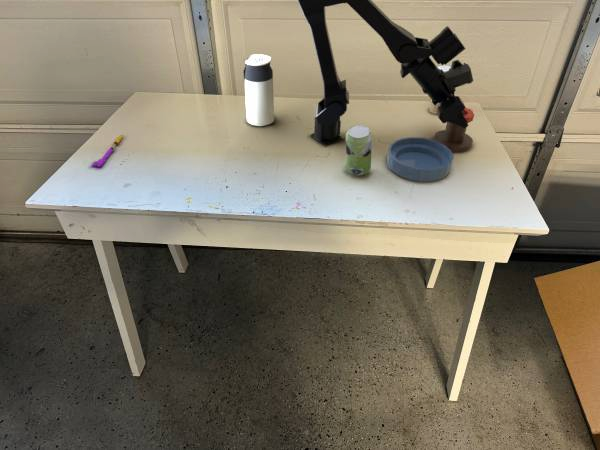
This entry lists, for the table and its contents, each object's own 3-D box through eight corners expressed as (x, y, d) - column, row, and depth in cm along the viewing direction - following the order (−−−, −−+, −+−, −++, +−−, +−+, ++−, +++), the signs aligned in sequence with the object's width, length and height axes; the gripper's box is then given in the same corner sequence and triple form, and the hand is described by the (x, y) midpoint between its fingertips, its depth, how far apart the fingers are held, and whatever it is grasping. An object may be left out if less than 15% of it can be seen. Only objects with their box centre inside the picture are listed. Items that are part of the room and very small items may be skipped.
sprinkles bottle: (435, 107, 139) (444, 63, 130) (447, 112, 136) (457, 68, 127) (425, 111, 136) (434, 67, 128) (437, 116, 134) (447, 72, 125)
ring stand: (453, 156, 116) (463, 119, 109) (425, 140, 122) (433, 104, 116) (479, 145, 120) (490, 109, 114) (450, 131, 127) (459, 95, 120)
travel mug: (249, 128, 127) (244, 65, 116) (245, 116, 133) (240, 55, 122) (276, 125, 129) (274, 62, 117) (271, 113, 135) (269, 52, 123)
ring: (447, 123, 114) (449, 117, 113) (443, 111, 119) (444, 105, 118) (474, 124, 114) (476, 118, 113) (469, 112, 119) (470, 106, 118)
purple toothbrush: (101, 167, 110) (125, 137, 123) (99, 163, 110) (123, 133, 122) (92, 169, 111) (116, 138, 123) (89, 165, 110) (114, 135, 122)
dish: (417, 190, 104) (420, 176, 102) (373, 160, 114) (375, 147, 112) (463, 170, 111) (466, 157, 108) (417, 144, 121) (420, 131, 118)
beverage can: (373, 167, 112) (378, 124, 104) (363, 183, 106) (369, 138, 99) (349, 162, 114) (353, 118, 106) (339, 176, 108) (342, 132, 101)
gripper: (465, 68, 99) (501, 116, 106) (450, 41, 114) (482, 85, 120) (423, 100, 105) (460, 144, 111) (413, 71, 119) (446, 111, 125)
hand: (463, 119), depth 117 cm, fingers open, 8 cm apart
